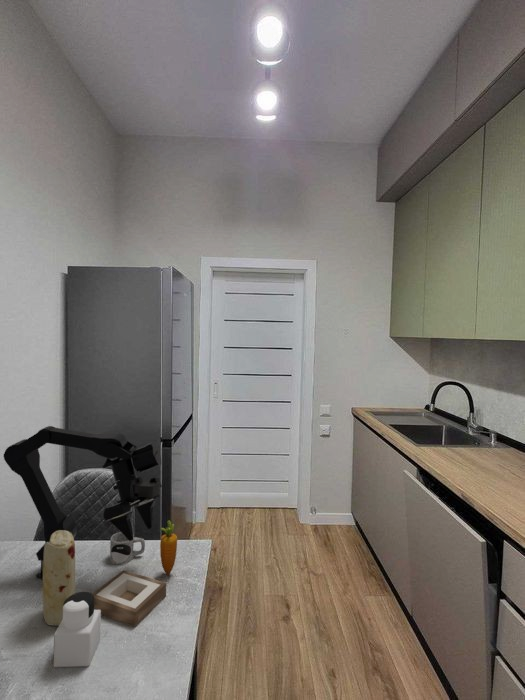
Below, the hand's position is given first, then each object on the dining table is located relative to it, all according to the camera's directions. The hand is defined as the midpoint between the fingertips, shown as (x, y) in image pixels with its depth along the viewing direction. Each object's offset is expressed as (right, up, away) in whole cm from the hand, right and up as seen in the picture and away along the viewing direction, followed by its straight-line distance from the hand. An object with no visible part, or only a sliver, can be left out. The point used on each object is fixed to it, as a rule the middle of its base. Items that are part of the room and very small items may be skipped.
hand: (141, 534), depth 107 cm
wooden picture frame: (-1, -14, -8) cm, 16 cm away
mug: (-8, -13, +12) cm, 20 cm away
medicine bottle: (-6, -14, -24) cm, 29 cm away
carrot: (+6, -14, +4) cm, 16 cm away
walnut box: (-1, -14, -8) cm, 16 cm away
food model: (-15, -14, -14) cm, 25 cm away
